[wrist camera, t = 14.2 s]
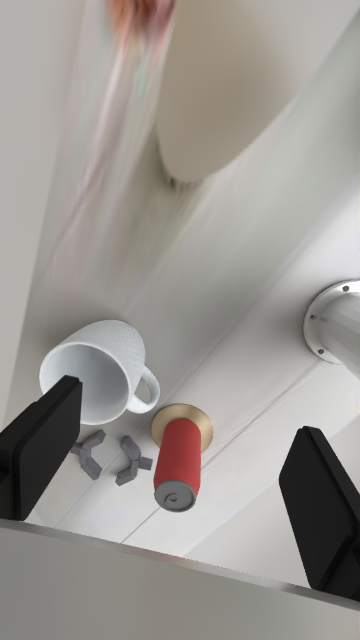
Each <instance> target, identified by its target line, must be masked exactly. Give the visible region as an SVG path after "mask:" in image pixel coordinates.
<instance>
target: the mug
mask: <svg viewBox="0 0 360 640" xmlns="http://www.w3.org/2000/svg"><path fill="white" fill-rule="evenodd" d="M144 348H145V347H144V343H143V340H142V338H141V336H140V335H139V333H138V332H137V331H136V329H134V328H133V327H132V326H130V325H129V324H127V323H125V322H122V321H119V320H102V321H98V322H95V323H91V324H89V325H87V326H85V327H83V328H81V329H80V330H78V331H76V332H75V333H73V334H71V335H70V336H69V337H68V338H66V339H65V340H64V341H62V342H61V343H59V344H58V345H57V346H55V347H54V348H53V349H52V350H51V351H50V352H49V353H48V354H47V355H46V356H45V358H44V359H43V361H42V363H41V366H40V371H39V382H40V387H41V390H42V392H43V394H45V393H46V392H47V391H48V390H49V389H50V388H52V387H53V386H54V385H55V384H56V383H57V382H58V381H59V380H60V379H61V378H62V377H63V376H64V375H69V376H74V377H78V378H79V381H81V382H82V383H83V389H82V404H81V420H80V423H81V424H88V425H98V424H104V423H108V422H110V421H112V420H114V419H116V418H117V417H119V416H120V415H121V414H122V413H123V412H124V411H125V409H127V410H129V411H131V412H134V413H145V412H147V411H149V410H151V409H152V408H153V407H154V406H155V405H156V403H157V402H158V399H159V395H160V387H159V383H158V381H157V379H156V377H155V376H154V375H153V373H152V372H151V371H150V370H149V369H148V368H147V367H146V366H145V365H144V363H145V349H144ZM141 377H142V378H143V379H144V380H145V381H146V383H147V384H148V386H149V388H150V392H151V397H150V401H149V403H148V404H146V403H144V402H142V401H141V400H140V399H139V398H138V397H137V396H136V395H135V394H134V392H135V390H136V388H137V386H138V384H139V381H140V378H141Z"/></svg>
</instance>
